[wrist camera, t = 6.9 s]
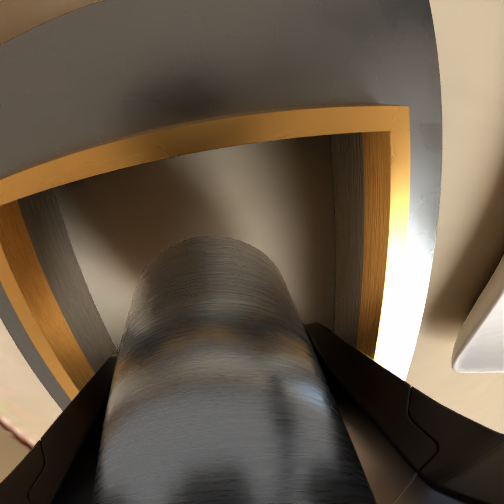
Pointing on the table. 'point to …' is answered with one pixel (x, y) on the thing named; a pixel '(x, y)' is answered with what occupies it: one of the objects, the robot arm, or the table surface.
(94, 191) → the table surface
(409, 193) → the grey and gold frame
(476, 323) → the salad plate
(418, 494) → the robot arm
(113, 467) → the can
